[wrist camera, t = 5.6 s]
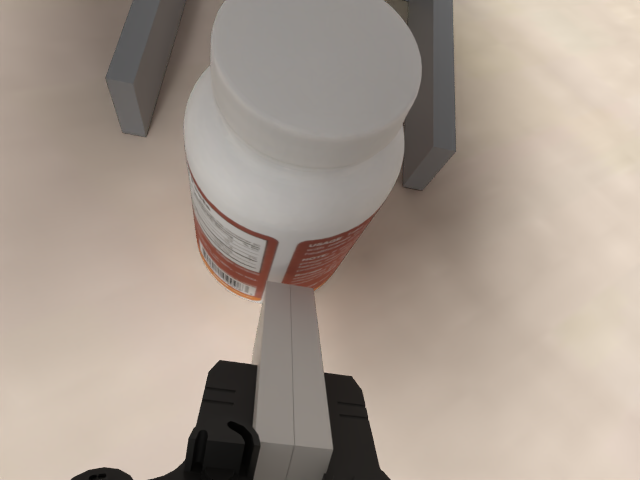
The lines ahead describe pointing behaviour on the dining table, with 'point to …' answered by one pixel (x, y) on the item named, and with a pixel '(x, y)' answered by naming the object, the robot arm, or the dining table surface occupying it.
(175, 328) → the dining table surface
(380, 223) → the dining table surface
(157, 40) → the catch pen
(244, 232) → the pill bottle
